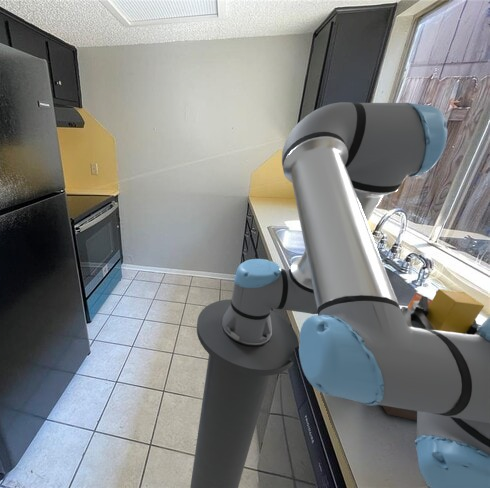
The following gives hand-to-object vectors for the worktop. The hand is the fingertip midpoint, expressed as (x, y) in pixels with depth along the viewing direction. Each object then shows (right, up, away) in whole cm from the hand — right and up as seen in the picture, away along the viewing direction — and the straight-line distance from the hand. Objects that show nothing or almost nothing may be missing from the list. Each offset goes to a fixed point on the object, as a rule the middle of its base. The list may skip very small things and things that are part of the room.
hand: (443, 308), depth 50 cm
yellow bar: (-4, -7, -1) cm, 8 cm away
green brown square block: (-1, -23, +9) cm, 25 cm away
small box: (+25, -15, +30) cm, 42 cm away
